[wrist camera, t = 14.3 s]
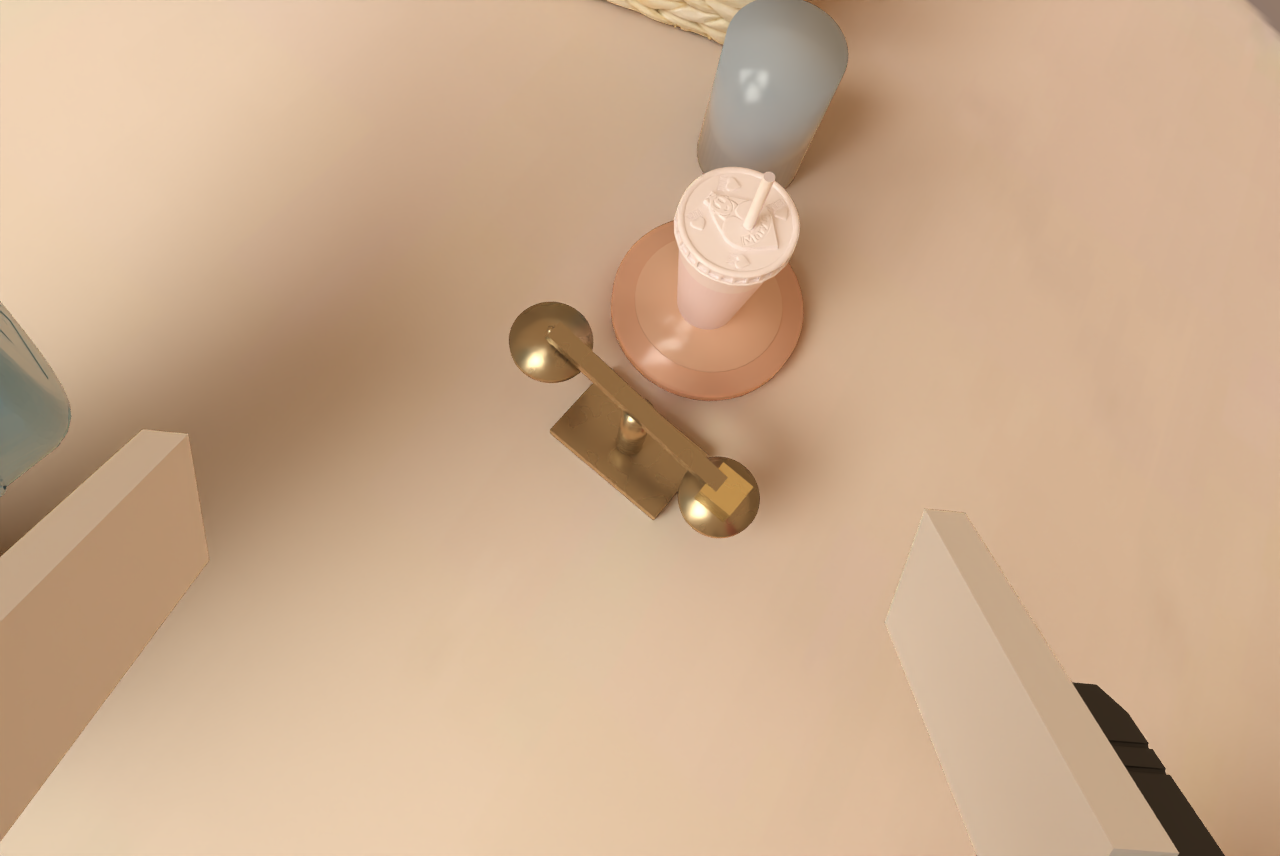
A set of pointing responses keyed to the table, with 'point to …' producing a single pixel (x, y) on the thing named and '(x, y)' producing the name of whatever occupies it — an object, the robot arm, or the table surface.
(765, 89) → the grey domed cylinder
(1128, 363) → the table surface
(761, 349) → the dish
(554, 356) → the balance
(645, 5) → the storage basket
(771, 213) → the smoothie
